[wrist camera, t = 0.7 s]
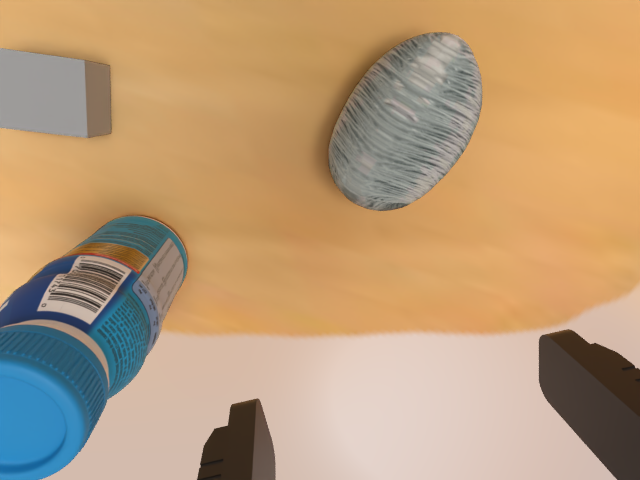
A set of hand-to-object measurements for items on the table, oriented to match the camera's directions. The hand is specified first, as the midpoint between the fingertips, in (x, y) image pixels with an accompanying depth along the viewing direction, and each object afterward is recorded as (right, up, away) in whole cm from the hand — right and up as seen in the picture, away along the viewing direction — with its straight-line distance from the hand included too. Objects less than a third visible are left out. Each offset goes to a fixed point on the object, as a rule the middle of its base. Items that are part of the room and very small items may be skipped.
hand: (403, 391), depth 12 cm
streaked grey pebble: (+3, +14, +24) cm, 28 cm away
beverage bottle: (-18, +3, +25) cm, 31 cm away
